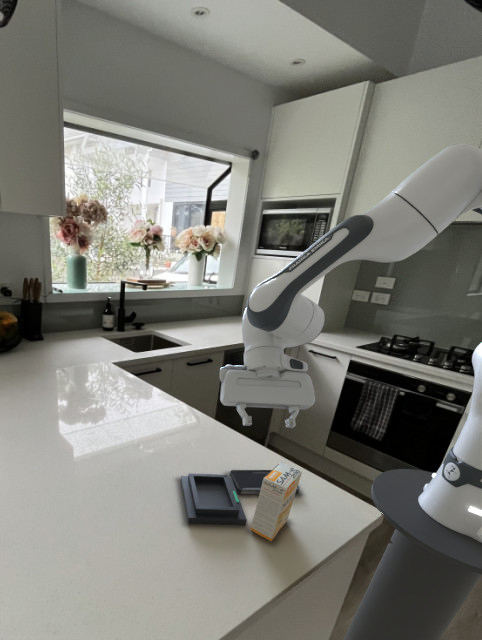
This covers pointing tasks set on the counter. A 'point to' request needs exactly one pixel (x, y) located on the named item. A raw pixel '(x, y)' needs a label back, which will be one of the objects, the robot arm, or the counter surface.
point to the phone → (249, 480)
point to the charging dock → (211, 500)
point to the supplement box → (275, 500)
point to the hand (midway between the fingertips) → (269, 426)
